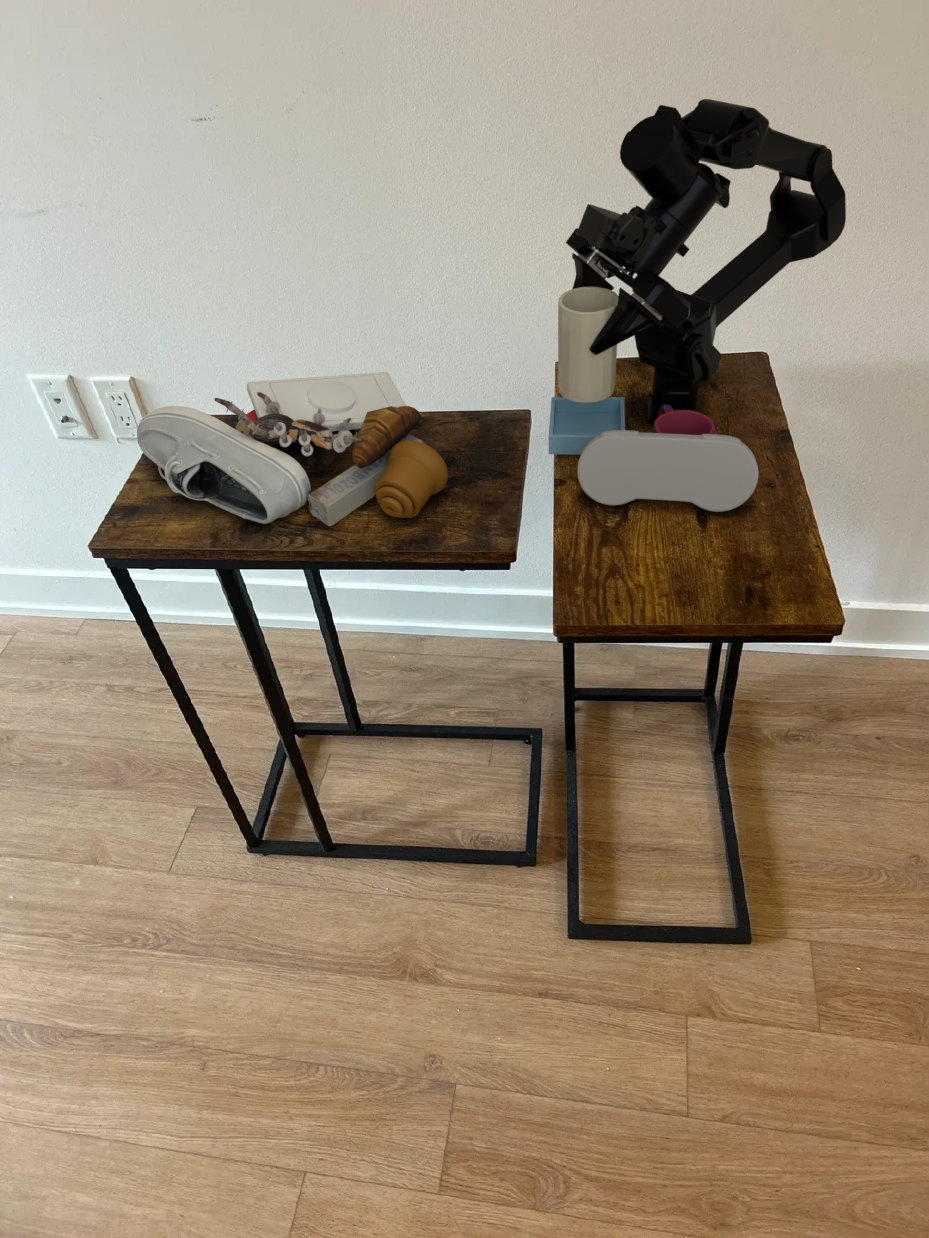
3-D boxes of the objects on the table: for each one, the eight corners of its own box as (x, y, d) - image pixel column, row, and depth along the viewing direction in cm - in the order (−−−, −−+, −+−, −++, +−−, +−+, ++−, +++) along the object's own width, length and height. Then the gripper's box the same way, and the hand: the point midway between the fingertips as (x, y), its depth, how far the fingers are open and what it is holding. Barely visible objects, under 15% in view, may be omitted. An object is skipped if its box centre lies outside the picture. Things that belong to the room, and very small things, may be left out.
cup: (656, 495, 102) (662, 444, 97) (637, 447, 109) (641, 398, 104) (714, 489, 102) (722, 438, 97) (691, 441, 109) (698, 392, 104)
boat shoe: (156, 444, 113) (105, 474, 107) (150, 383, 107) (96, 410, 101) (313, 527, 107) (268, 563, 101) (317, 467, 101) (269, 501, 95)
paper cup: (602, 369, 109) (606, 282, 101) (623, 396, 104) (628, 307, 96) (551, 380, 108) (550, 293, 100) (569, 407, 103) (570, 318, 95)
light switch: (246, 375, 114) (388, 365, 121) (246, 388, 115) (387, 378, 122) (265, 424, 108) (414, 411, 115) (265, 438, 109) (412, 424, 116)
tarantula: (394, 426, 110) (386, 465, 112) (266, 388, 112) (260, 426, 114) (351, 441, 95) (341, 485, 97) (204, 396, 97) (197, 440, 99)
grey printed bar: (296, 489, 101) (325, 507, 99) (395, 424, 109) (424, 440, 107) (300, 512, 104) (329, 531, 101) (397, 448, 112) (426, 464, 109)
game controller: (751, 508, 99) (762, 434, 95) (753, 514, 97) (764, 440, 93) (577, 497, 102) (580, 426, 99) (575, 503, 100) (579, 431, 97)
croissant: (405, 436, 111) (379, 404, 110) (439, 408, 106) (412, 375, 105) (348, 485, 101) (319, 451, 100) (382, 458, 97) (352, 421, 95)
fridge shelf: (551, 414, 115) (551, 397, 114) (622, 414, 114) (624, 396, 113) (548, 454, 109) (548, 436, 107) (624, 455, 108) (625, 436, 106)
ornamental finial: (384, 435, 102) (436, 436, 98) (410, 483, 107) (460, 486, 103) (349, 483, 98) (402, 486, 94) (378, 530, 104) (429, 535, 99)
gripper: (582, 150, 97) (495, 272, 102) (676, 202, 84) (571, 339, 89) (640, 209, 104) (556, 320, 109) (734, 265, 91) (634, 388, 97)
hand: (577, 339), depth 101 cm, fingers closed on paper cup, 7 cm apart
